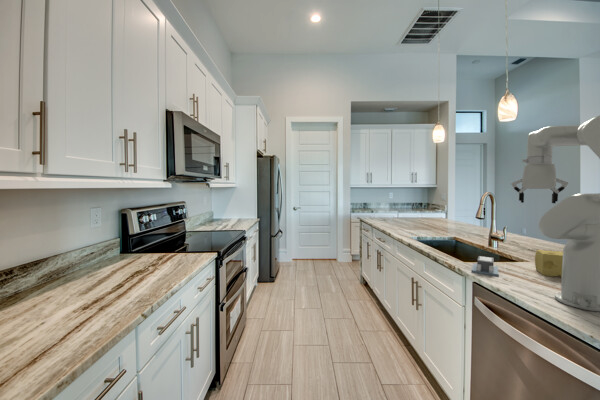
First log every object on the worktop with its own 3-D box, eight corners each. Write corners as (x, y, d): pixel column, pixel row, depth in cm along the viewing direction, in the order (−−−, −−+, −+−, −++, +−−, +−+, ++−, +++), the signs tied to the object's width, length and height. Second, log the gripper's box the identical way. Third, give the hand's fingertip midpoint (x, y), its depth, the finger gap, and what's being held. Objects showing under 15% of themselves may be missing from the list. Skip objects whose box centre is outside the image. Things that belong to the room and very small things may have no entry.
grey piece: (498, 276, 115) (498, 267, 115) (471, 272, 121) (471, 263, 121) (498, 268, 126) (498, 260, 126) (473, 264, 132) (473, 257, 132)
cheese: (573, 279, 111) (575, 256, 110) (540, 275, 116) (541, 253, 116) (564, 272, 120) (565, 251, 119) (534, 269, 125) (534, 248, 125)
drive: (493, 272, 118) (493, 262, 117) (477, 269, 121) (477, 260, 121) (493, 266, 125) (493, 257, 125) (478, 264, 129) (478, 255, 129)
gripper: (512, 162, 108) (511, 202, 109) (571, 159, 98) (569, 204, 99) (511, 163, 114) (510, 201, 115) (566, 160, 104) (564, 203, 105)
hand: (537, 202), depth 107 cm, fingers open, 9 cm apart
